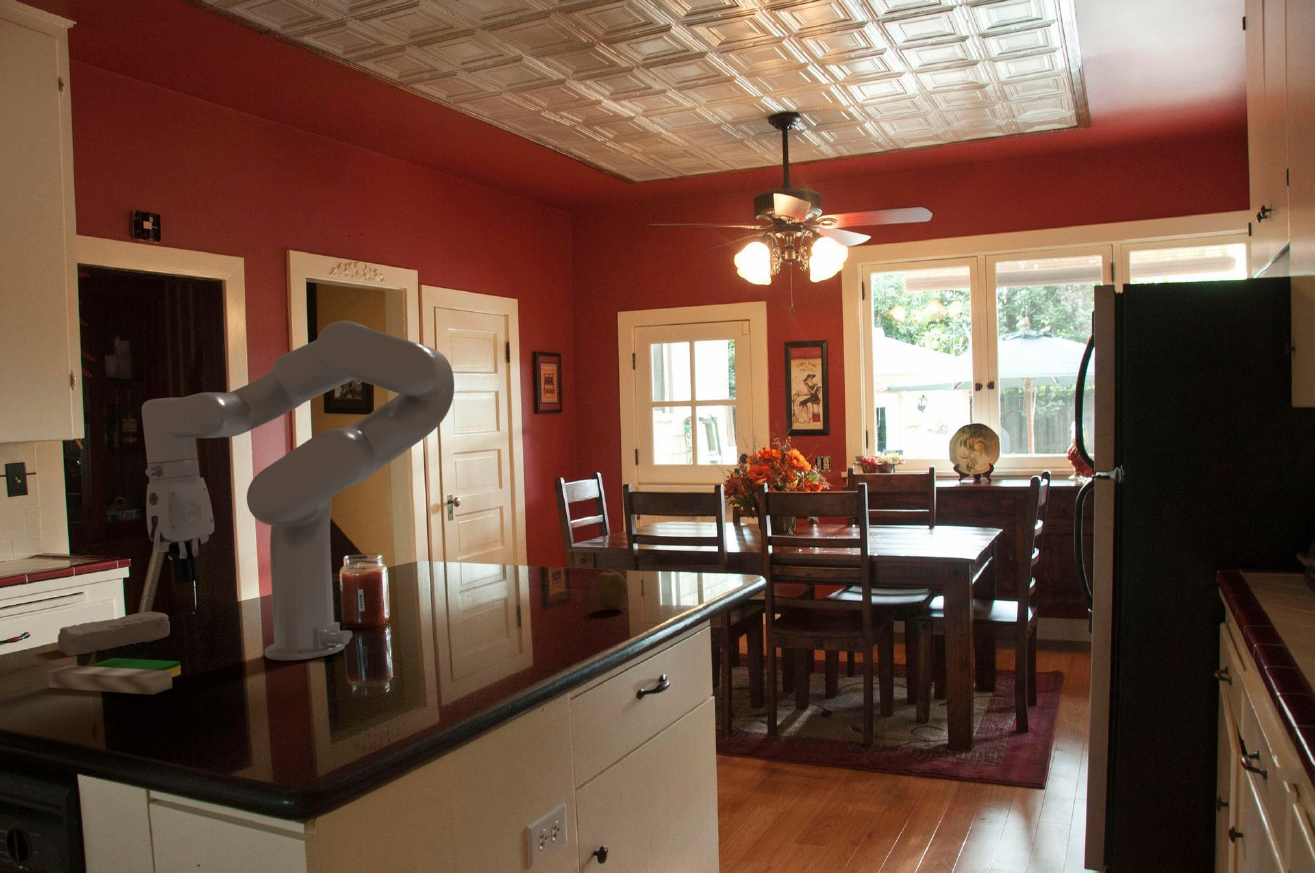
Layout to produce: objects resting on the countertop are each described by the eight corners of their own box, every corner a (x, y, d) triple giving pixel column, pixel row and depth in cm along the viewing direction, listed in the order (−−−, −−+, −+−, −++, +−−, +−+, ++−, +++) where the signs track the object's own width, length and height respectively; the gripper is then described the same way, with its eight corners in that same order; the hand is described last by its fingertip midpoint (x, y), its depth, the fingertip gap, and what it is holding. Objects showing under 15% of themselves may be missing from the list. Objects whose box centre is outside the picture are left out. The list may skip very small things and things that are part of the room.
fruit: (628, 606, 190) (626, 565, 190) (628, 612, 184) (626, 570, 184) (596, 607, 190) (594, 567, 190) (595, 614, 184) (593, 572, 184)
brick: (71, 658, 167) (69, 631, 167) (56, 651, 173) (55, 625, 173) (172, 639, 179) (170, 614, 179) (155, 634, 185) (154, 609, 185)
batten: (172, 687, 143) (171, 670, 143) (153, 694, 140) (152, 677, 140) (70, 681, 150) (69, 665, 150) (49, 687, 146) (48, 671, 146)
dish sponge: (114, 672, 156) (113, 657, 156) (182, 676, 152) (181, 660, 152) (75, 684, 149) (74, 668, 149) (145, 689, 145) (144, 672, 145)
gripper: (155, 474, 153) (168, 590, 153) (225, 466, 167) (237, 572, 168) (119, 478, 155) (131, 591, 156) (190, 470, 170) (202, 574, 170)
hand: (186, 581), depth 162 cm, fingers closed
